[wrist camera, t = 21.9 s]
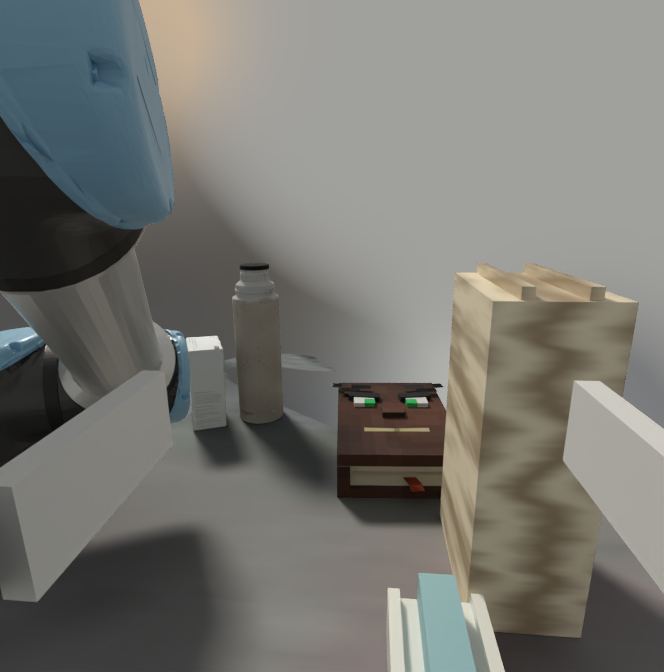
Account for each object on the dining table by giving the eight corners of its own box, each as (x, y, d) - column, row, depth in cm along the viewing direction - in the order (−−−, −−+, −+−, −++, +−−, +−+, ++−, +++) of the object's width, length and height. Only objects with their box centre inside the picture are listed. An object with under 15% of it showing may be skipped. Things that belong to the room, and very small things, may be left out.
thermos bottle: (231, 414, 85) (220, 263, 77) (266, 402, 90) (259, 260, 83) (256, 428, 79) (247, 267, 72) (292, 414, 84) (286, 263, 77)
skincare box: (190, 413, 85) (183, 337, 81) (223, 408, 87) (217, 334, 83) (193, 432, 78) (185, 350, 74) (229, 427, 80) (223, 346, 76)
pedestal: (464, 629, 41) (494, 287, 33) (439, 515, 56) (455, 263, 48) (580, 638, 40) (641, 288, 32) (523, 519, 55) (553, 263, 47)
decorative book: (327, 458, 56) (332, 374, 85) (327, 511, 58) (332, 411, 87) (484, 459, 55) (435, 374, 84) (479, 512, 57) (433, 411, 86)
